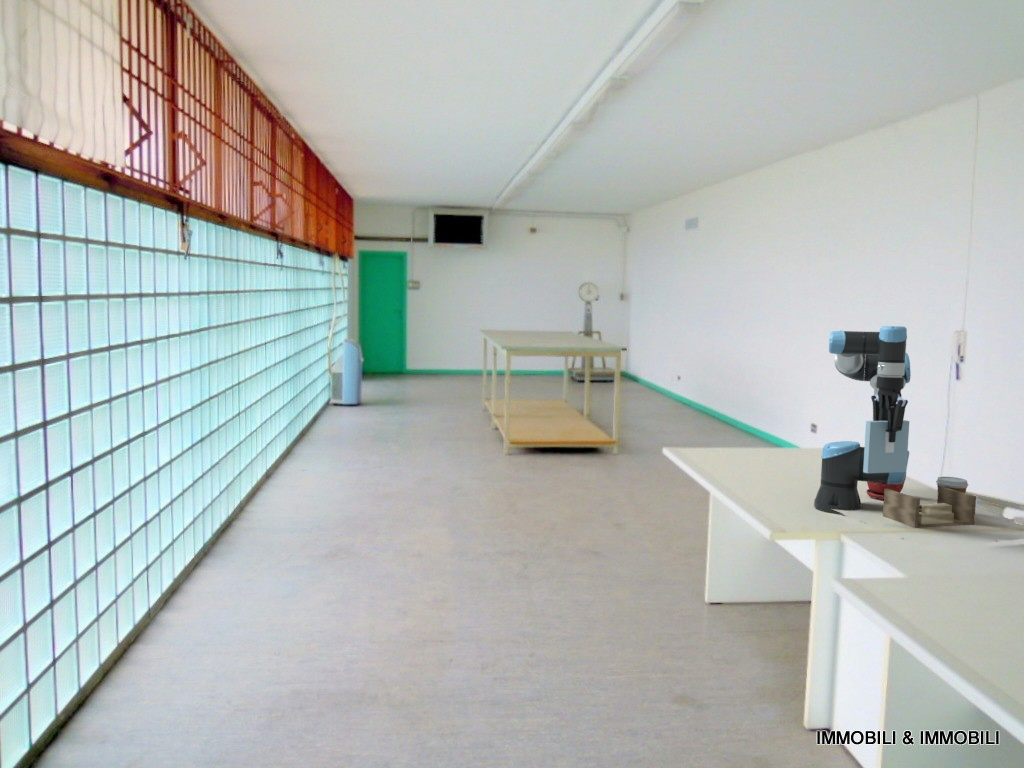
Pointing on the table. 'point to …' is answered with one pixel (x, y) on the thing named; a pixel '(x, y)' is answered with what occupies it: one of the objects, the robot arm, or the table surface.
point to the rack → (909, 507)
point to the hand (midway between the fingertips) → (885, 451)
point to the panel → (875, 448)
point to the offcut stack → (936, 514)
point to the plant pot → (882, 488)
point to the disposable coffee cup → (953, 483)
